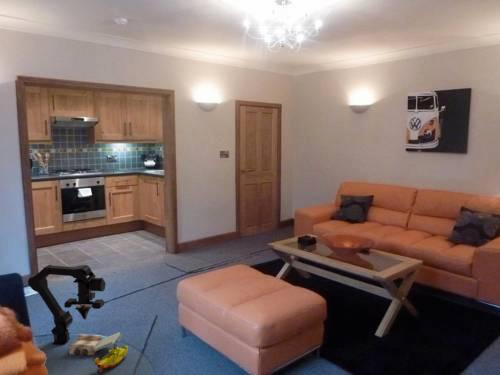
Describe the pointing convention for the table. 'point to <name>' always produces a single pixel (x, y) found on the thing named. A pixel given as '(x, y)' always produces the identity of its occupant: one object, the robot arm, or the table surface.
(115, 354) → the toy boat
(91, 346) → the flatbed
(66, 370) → the table surface
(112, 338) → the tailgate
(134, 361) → the table surface
